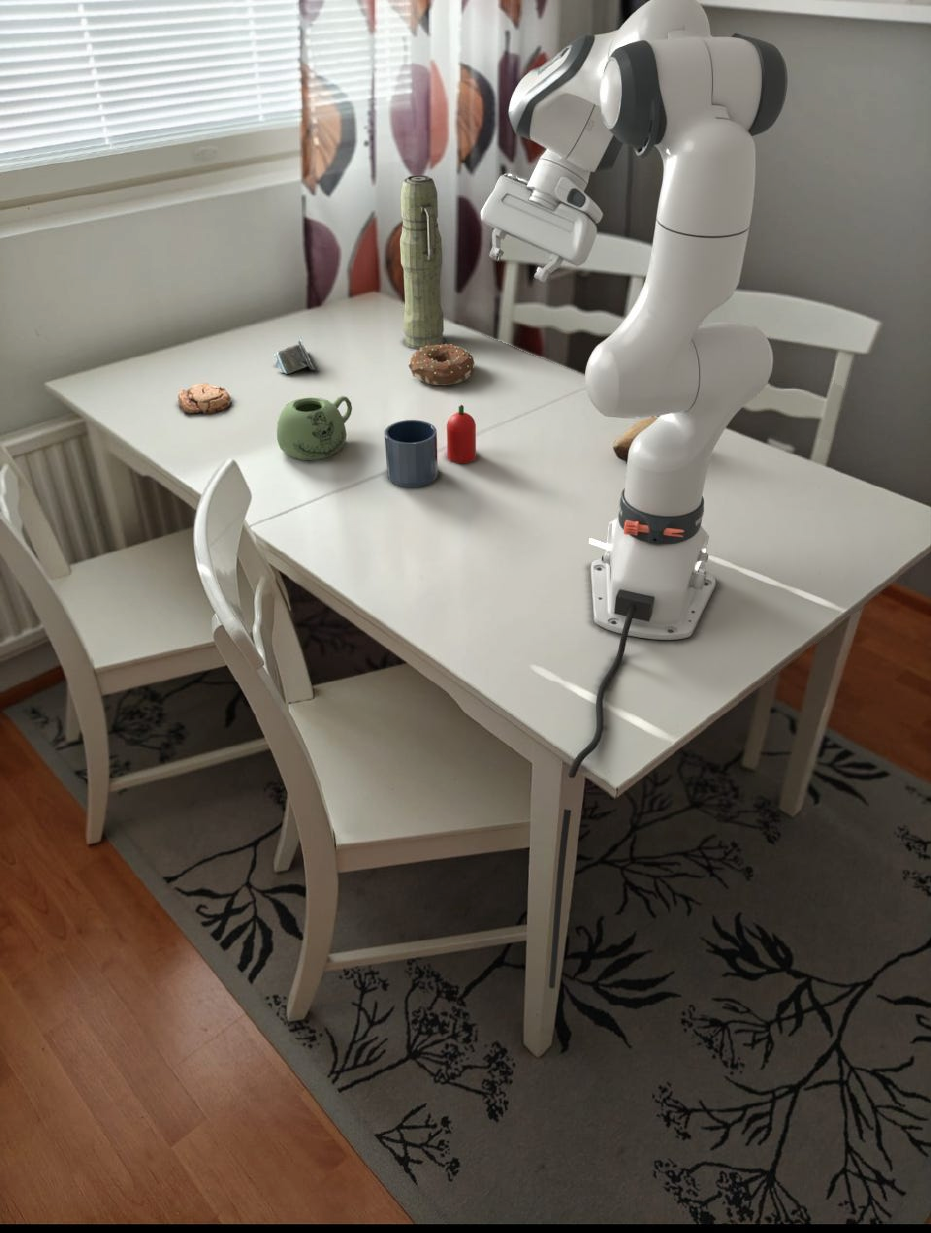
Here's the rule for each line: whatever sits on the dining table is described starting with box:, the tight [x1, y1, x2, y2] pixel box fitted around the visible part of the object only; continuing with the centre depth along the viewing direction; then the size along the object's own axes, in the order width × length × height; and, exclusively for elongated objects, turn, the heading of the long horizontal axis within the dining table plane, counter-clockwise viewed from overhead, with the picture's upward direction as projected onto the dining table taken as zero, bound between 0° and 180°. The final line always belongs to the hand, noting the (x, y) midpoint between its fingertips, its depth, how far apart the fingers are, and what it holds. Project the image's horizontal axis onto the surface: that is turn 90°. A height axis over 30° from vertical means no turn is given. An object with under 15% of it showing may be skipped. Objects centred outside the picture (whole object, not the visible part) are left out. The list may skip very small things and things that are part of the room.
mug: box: [276, 395, 353, 461], centre depth 184 cm, size 16×13×9 cm
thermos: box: [399, 174, 445, 350], centre depth 215 cm, size 9×12×35 cm
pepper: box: [446, 404, 477, 464], centre depth 180 cm, size 5×5×10 cm
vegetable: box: [612, 416, 659, 461], centre depth 180 cm, size 16×11×10 cm
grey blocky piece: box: [273, 337, 316, 375], centre depth 214 cm, size 10×7×12 cm
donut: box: [408, 343, 475, 386], centre depth 209 cm, size 14×14×5 cm
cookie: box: [177, 382, 232, 414], centre depth 200 cm, size 10×11×3 cm
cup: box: [384, 419, 439, 488], centre depth 175 cm, size 9×9×8 cm
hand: (516, 269), depth 167 cm, fingers open, 8 cm apart
